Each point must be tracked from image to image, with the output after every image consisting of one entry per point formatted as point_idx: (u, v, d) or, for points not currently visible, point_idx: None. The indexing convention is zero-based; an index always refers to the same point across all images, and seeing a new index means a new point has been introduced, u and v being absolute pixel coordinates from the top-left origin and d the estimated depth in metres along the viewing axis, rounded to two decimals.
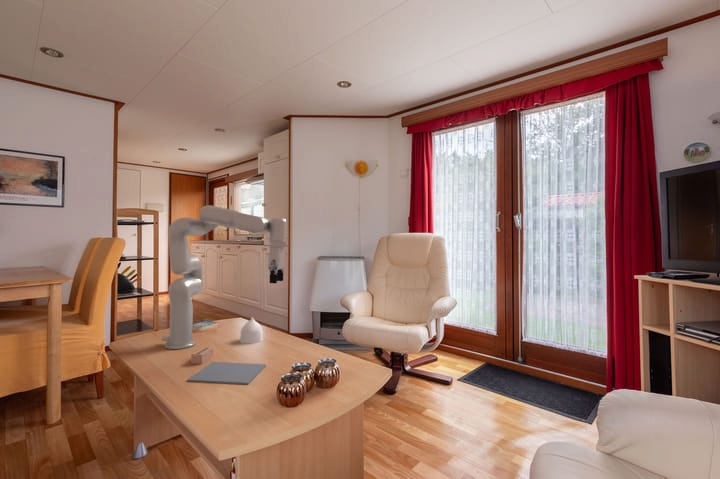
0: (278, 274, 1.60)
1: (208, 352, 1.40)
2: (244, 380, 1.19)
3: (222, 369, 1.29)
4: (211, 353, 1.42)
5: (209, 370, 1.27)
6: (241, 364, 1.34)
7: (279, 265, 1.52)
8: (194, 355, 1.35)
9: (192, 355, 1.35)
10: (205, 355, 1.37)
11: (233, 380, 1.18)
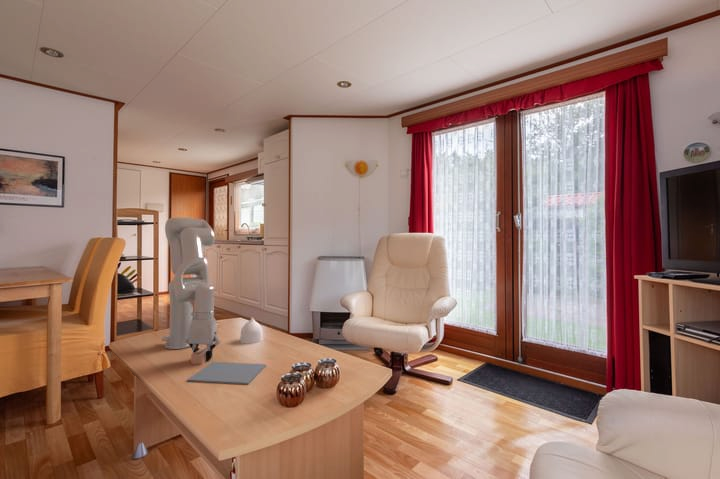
0: None
1: None
2: (244, 380, 1.19)
3: (222, 369, 1.29)
4: None
5: (209, 370, 1.27)
6: (241, 364, 1.34)
7: None
8: (194, 355, 1.35)
9: (192, 355, 1.35)
10: (205, 355, 1.37)
11: (233, 380, 1.18)
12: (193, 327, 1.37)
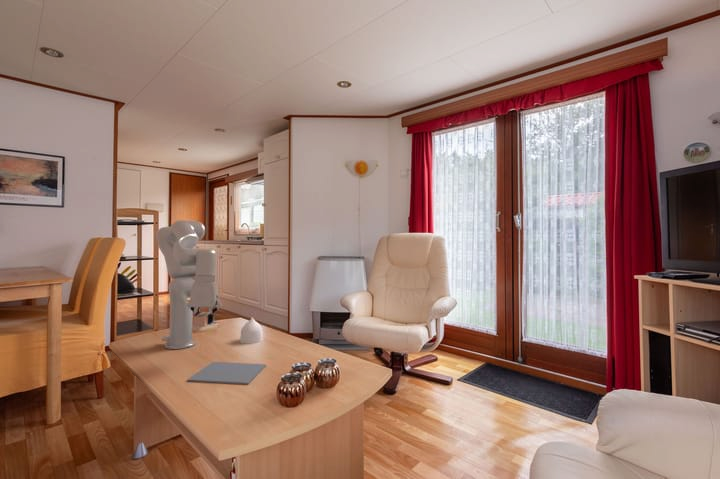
0: None
1: None
2: (244, 380, 1.19)
3: (222, 369, 1.29)
4: None
5: (209, 370, 1.27)
6: (241, 364, 1.34)
7: None
8: (196, 317, 1.35)
9: (194, 317, 1.35)
10: (207, 318, 1.37)
11: (233, 380, 1.18)
12: (195, 290, 1.37)
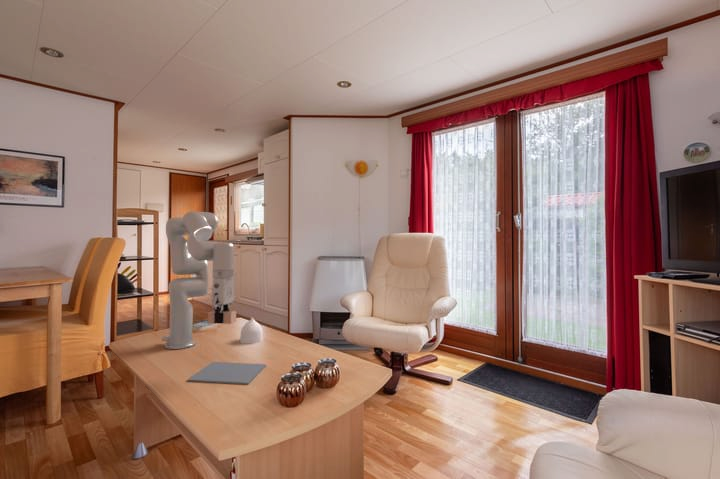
0: None
1: None
2: (244, 380, 1.19)
3: (222, 369, 1.29)
4: None
5: (209, 370, 1.27)
6: (241, 364, 1.34)
7: None
8: (232, 313, 1.29)
9: (231, 314, 1.28)
10: None
11: (233, 380, 1.18)
12: (226, 286, 1.28)
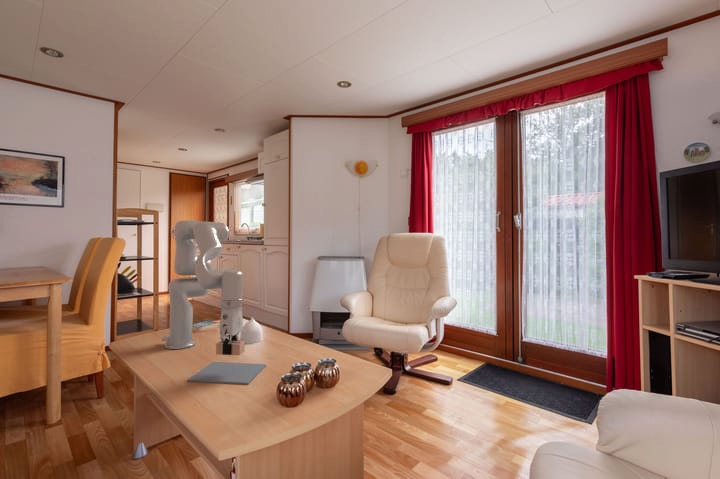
0: None
1: None
2: (244, 380, 1.19)
3: (222, 369, 1.29)
4: None
5: (209, 370, 1.27)
6: (241, 364, 1.34)
7: None
8: (241, 344, 1.25)
9: (240, 345, 1.24)
10: None
11: (233, 380, 1.18)
12: (234, 317, 1.24)
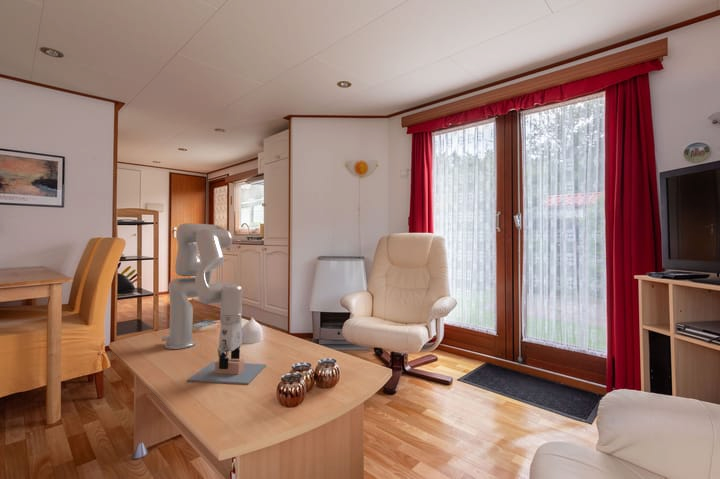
0: None
1: None
2: (244, 380, 1.19)
3: None
4: None
5: (209, 370, 1.27)
6: None
7: None
8: (240, 363, 1.25)
9: (239, 364, 1.24)
10: None
11: (233, 380, 1.18)
12: (234, 332, 1.24)
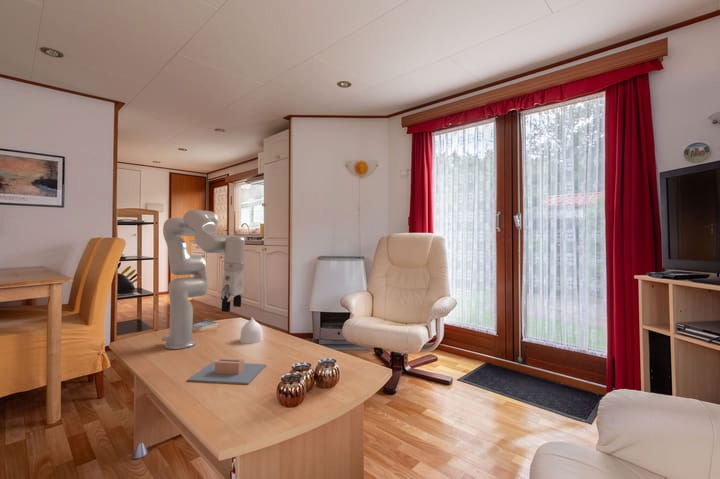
0: None
1: None
2: (244, 380, 1.19)
3: None
4: None
5: (209, 370, 1.27)
6: None
7: None
8: (240, 363, 1.25)
9: (239, 364, 1.24)
10: None
11: (233, 380, 1.18)
12: (236, 279, 1.33)
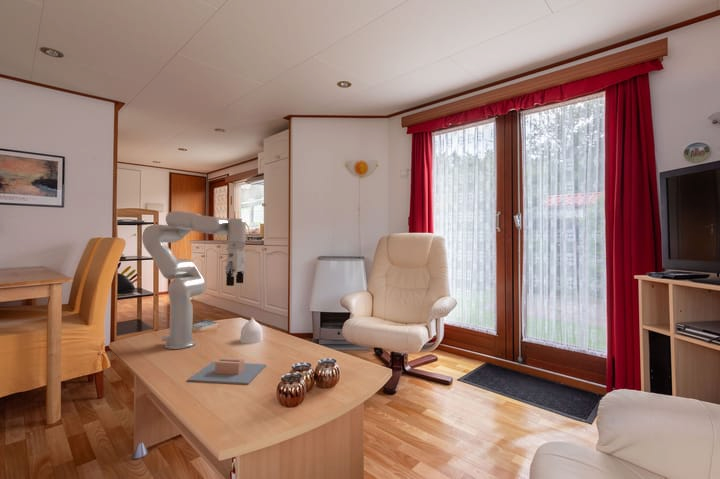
0: None
1: None
2: (244, 380, 1.19)
3: None
4: None
5: (209, 370, 1.27)
6: None
7: None
8: (240, 363, 1.25)
9: (239, 364, 1.24)
10: None
11: (233, 380, 1.18)
12: (239, 256, 1.47)
